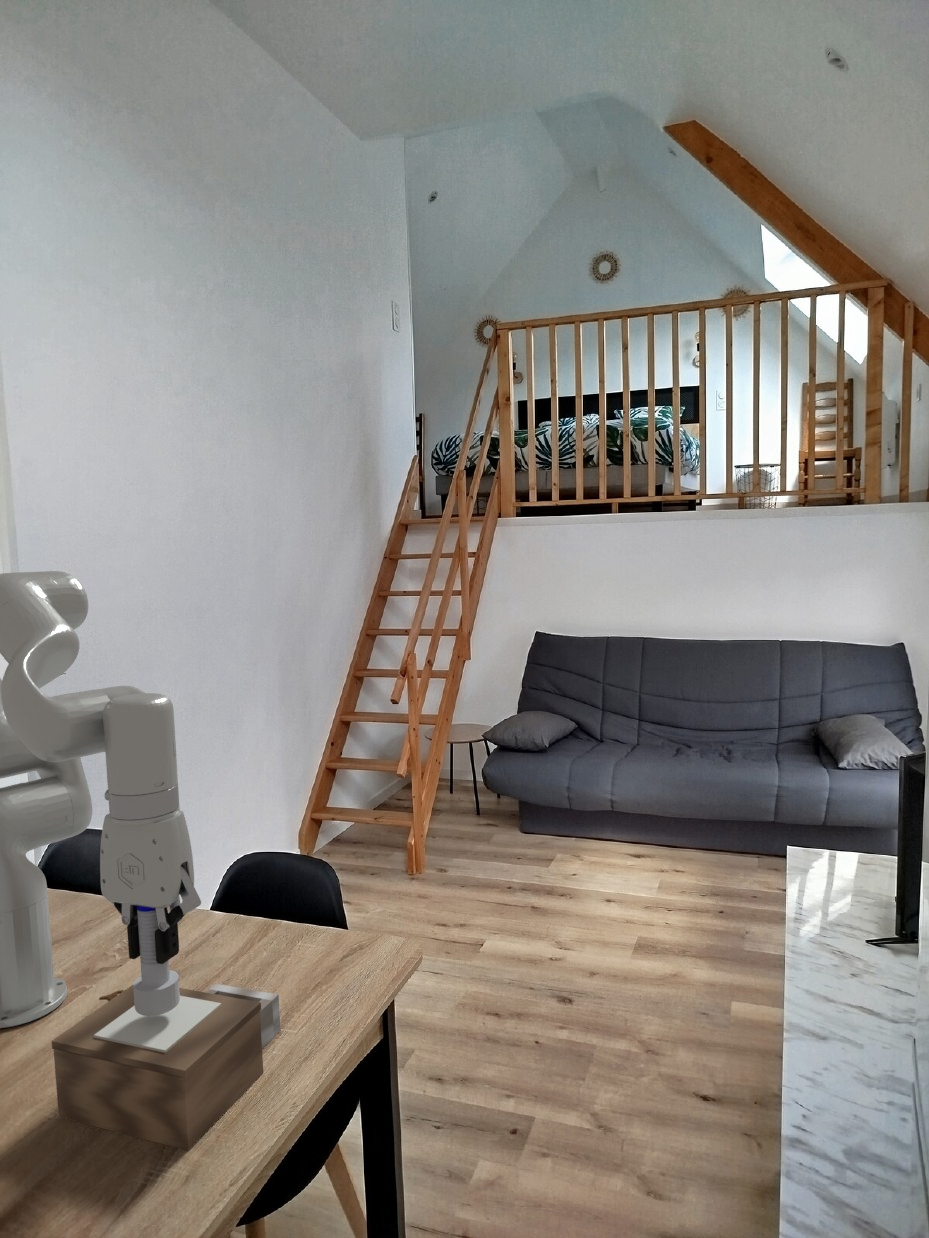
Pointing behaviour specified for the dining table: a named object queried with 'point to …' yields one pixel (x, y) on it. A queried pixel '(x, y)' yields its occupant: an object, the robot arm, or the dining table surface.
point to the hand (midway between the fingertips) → (154, 954)
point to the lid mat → (158, 1025)
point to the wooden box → (165, 1068)
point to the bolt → (153, 971)
